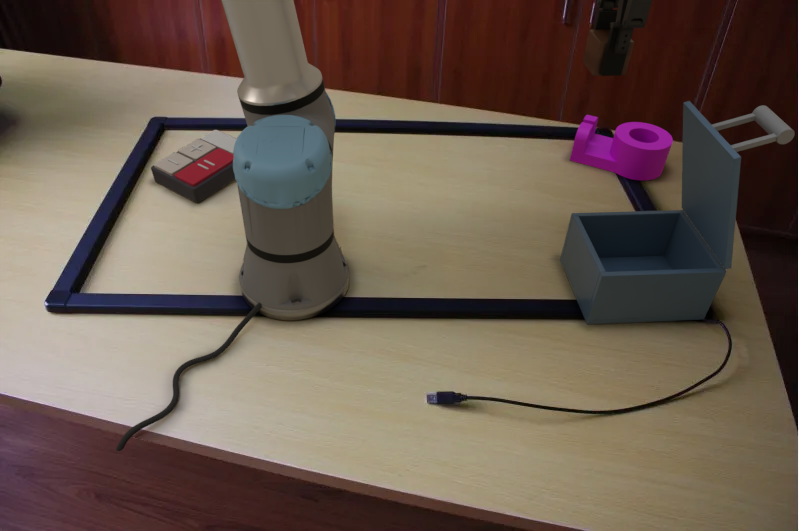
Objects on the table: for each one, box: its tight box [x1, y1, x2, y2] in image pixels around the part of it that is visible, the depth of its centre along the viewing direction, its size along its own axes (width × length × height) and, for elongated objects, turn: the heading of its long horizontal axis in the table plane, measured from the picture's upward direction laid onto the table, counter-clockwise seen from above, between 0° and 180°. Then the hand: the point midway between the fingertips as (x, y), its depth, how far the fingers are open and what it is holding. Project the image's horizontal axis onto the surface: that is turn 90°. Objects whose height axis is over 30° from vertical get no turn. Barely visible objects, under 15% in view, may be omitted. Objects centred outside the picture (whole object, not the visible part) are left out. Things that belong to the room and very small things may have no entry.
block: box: [582, 29, 635, 77], centre depth 86 cm, size 4×4×4 cm
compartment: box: [559, 209, 727, 325], centre depth 90 cm, size 17×14×9 cm
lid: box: [681, 100, 795, 270], centre depth 81 cm, size 17×14×9 cm
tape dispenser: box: [569, 114, 674, 181], centre depth 117 cm, size 16×10×6 cm, turn 63°
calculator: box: [150, 129, 238, 204], centre depth 111 cm, size 11×4×15 cm
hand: (603, 65), depth 87 cm, fingers closed on block, 4 cm apart
